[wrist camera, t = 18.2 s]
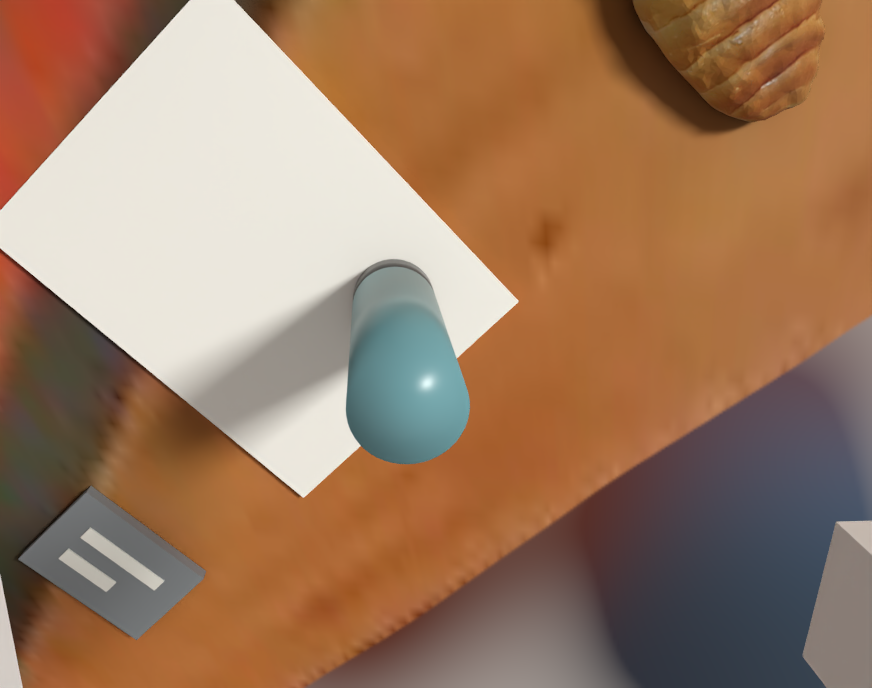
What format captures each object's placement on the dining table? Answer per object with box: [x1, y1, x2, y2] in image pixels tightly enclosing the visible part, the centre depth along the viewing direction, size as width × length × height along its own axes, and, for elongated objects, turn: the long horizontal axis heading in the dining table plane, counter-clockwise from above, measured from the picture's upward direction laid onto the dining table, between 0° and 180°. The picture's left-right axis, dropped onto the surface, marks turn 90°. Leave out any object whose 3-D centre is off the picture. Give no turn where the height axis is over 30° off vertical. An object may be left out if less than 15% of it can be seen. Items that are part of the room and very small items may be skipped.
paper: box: [0, 0, 519, 498], centre depth 32 cm, size 18×14×1 cm
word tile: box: [18, 486, 206, 640], centre depth 36 cm, size 7×5×1 cm
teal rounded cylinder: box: [346, 259, 470, 464], centre depth 27 cm, size 4×4×12 cm
